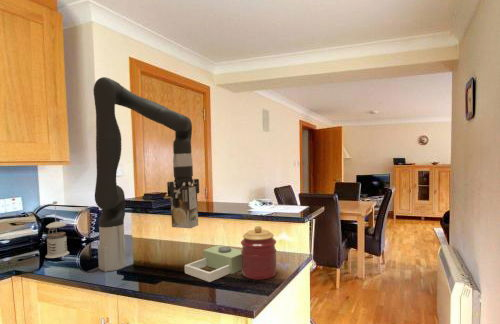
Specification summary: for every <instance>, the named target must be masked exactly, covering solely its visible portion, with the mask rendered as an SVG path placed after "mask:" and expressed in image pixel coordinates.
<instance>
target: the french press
mask: <svg viewBox="0 0 500 324" xmlns="http://www.w3.org/2000/svg"><path fill="white" fill-rule="evenodd" d="M52 204H53V205H54V213H55V215H54V216H55V219H54V220H57V213H56V211H57V210H56V205H57V204H58V201H55V200H54V201H53V202H52ZM66 226H67V224H66V223H65V222H63V221H53V222H51V223H49V224H47V225H46V226H45V228H47V229H48V231H52V233H48V234H47V237H46V244H47V245H46V246H47V248H46V249H47V251H46V252H47V254H45V256H44V257H45V258H47V259H55V258H62V257H64V256H67V255H69V254H70V251H68V245H67V244H68V243H67V239H68V238H67V235H66V232H65V231H59V232H58V231H57V228H58V229H59V228H63V227H66ZM54 231H55V232H54Z"/></svg>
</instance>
